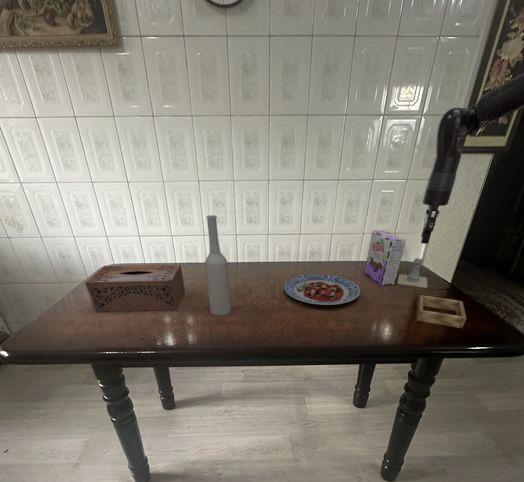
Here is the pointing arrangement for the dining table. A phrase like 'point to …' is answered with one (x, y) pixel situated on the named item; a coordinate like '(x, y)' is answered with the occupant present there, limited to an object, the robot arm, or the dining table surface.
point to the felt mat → (404, 281)
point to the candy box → (384, 257)
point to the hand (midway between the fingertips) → (424, 240)
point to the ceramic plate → (322, 289)
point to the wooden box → (441, 318)
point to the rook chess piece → (415, 271)
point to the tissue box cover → (136, 288)
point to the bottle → (217, 273)
